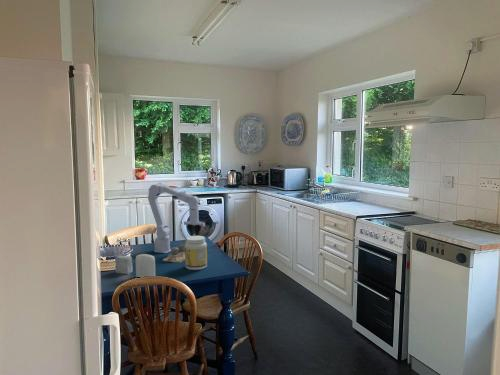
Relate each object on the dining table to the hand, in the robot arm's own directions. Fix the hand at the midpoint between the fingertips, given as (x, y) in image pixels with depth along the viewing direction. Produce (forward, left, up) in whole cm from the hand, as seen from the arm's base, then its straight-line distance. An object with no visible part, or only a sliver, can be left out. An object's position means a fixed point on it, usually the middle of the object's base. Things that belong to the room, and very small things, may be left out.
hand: (194, 236), depth 241 cm
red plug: (-3, -4, -7) cm, 9 cm away
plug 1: (-3, -18, -7) cm, 20 cm away
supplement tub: (+16, -25, -11) cm, 32 cm away
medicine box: (-16, -47, -11) cm, 51 cm away
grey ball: (-3, -11, -7) cm, 14 cm away
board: (-3, -11, -10) cm, 15 cm away
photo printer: (0, -49, -11) cm, 50 cm away
